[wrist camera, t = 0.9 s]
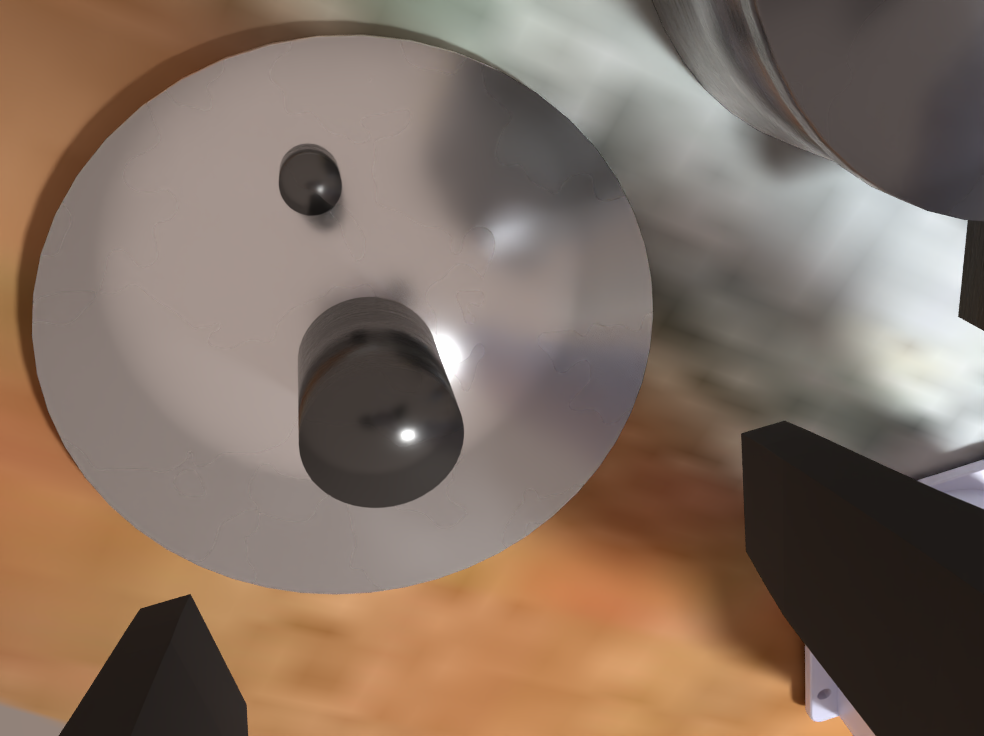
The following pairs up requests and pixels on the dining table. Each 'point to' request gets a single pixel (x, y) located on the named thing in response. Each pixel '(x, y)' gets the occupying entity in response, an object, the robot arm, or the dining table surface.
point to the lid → (342, 314)
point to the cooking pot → (858, 93)
